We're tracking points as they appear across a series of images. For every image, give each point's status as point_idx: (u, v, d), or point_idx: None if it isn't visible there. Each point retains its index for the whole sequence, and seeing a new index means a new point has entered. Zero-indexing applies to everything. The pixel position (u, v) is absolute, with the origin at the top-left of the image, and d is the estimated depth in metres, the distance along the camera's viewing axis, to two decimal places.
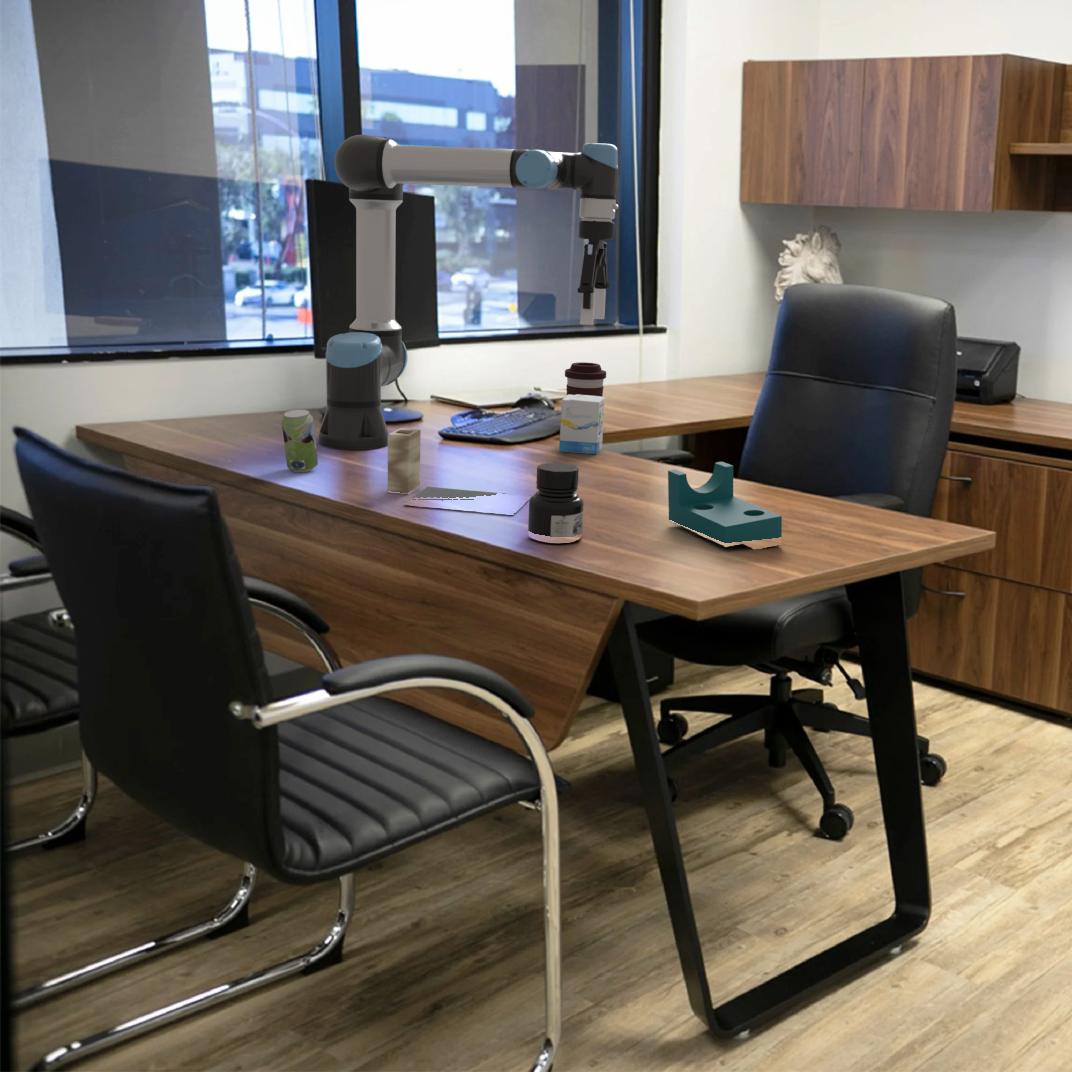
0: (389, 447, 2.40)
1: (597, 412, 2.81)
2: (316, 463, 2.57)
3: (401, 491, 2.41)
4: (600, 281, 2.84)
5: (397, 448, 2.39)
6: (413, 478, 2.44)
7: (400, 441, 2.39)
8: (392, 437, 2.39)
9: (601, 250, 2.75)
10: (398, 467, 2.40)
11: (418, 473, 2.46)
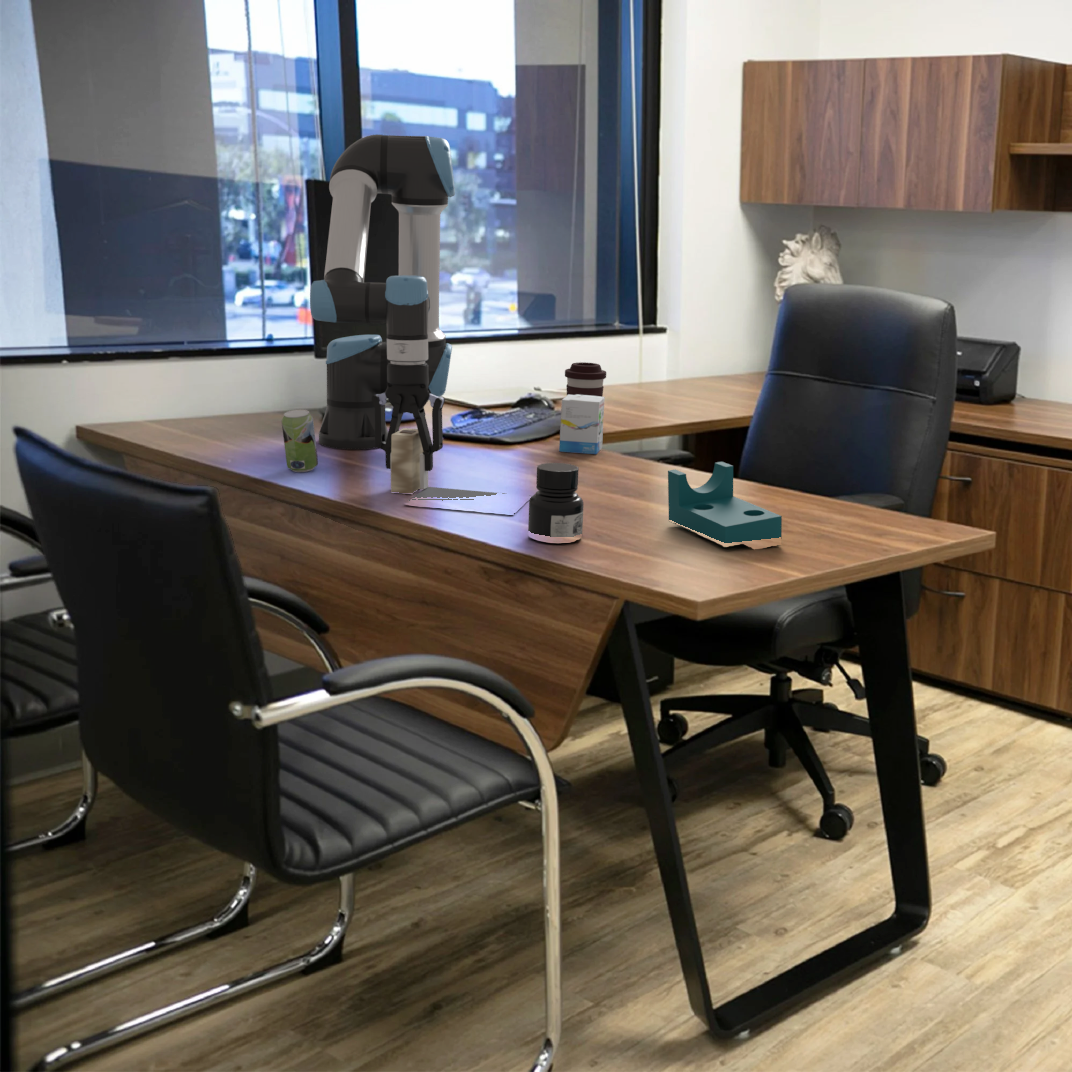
0: (392, 447, 2.39)
1: (597, 412, 2.81)
2: (316, 463, 2.57)
3: (405, 491, 2.41)
4: None
5: (401, 448, 2.39)
6: (417, 478, 2.43)
7: (404, 441, 2.39)
8: (395, 437, 2.39)
9: None
10: (402, 467, 2.40)
11: None
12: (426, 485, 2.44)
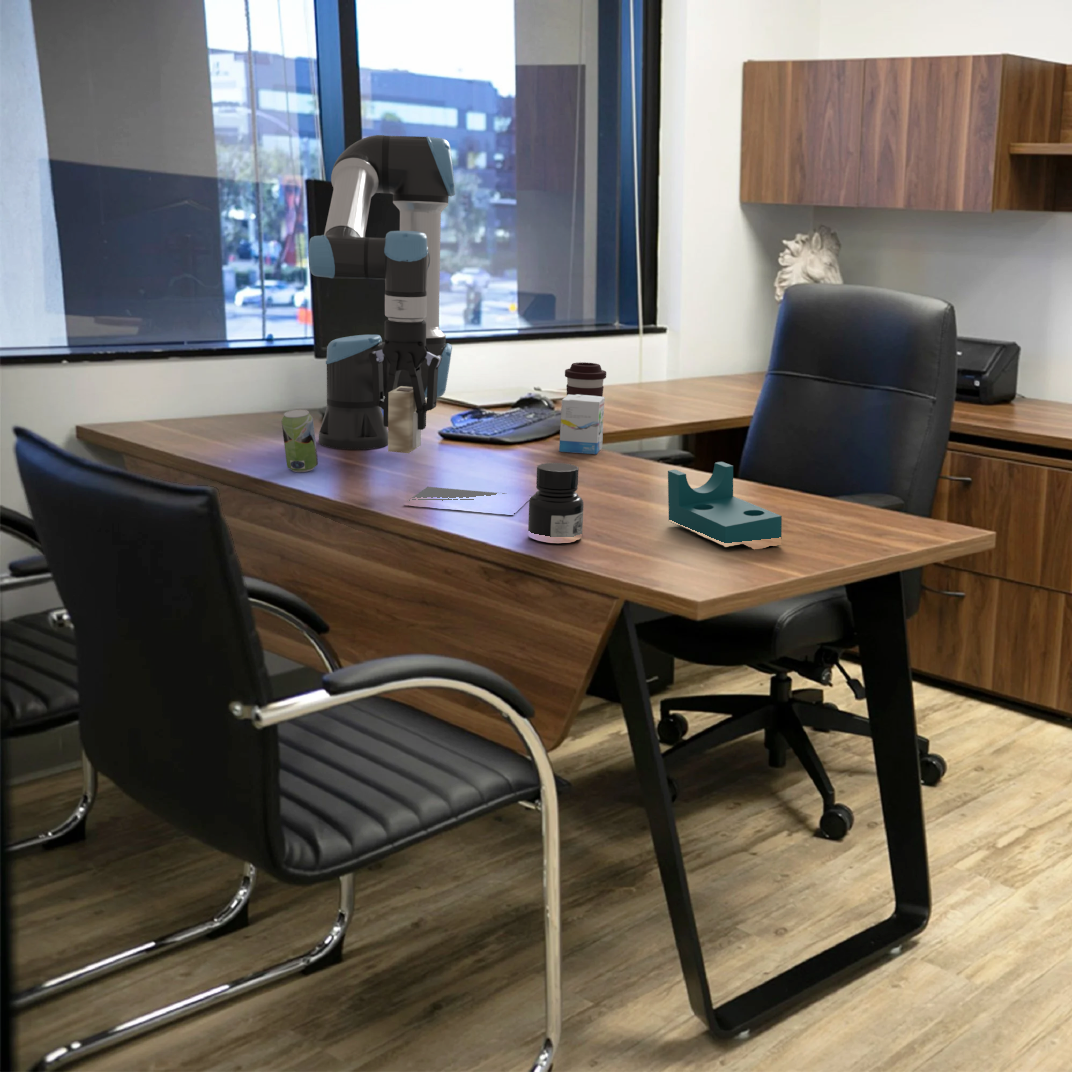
0: (389, 405, 2.38)
1: (597, 412, 2.81)
2: (316, 463, 2.57)
3: (402, 449, 2.40)
4: None
5: (398, 406, 2.38)
6: None
7: (401, 399, 2.37)
8: (392, 395, 2.37)
9: None
10: (399, 425, 2.39)
11: None
12: (419, 444, 2.43)
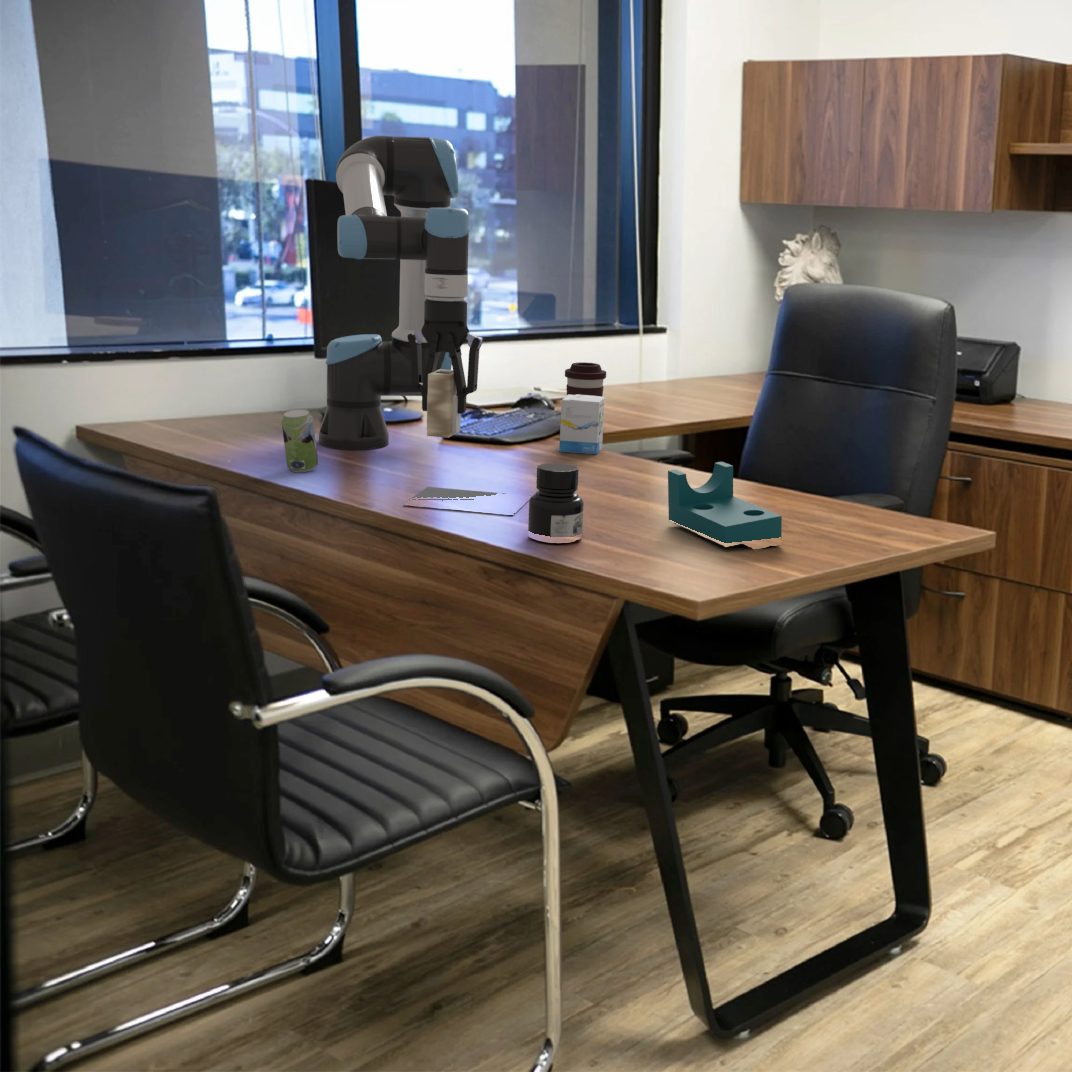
0: (429, 387, 2.30)
1: (597, 412, 2.81)
2: (316, 463, 2.57)
3: (441, 434, 2.31)
4: None
5: (437, 388, 2.30)
6: None
7: (441, 381, 2.29)
8: (432, 377, 2.29)
9: None
10: (438, 408, 2.30)
11: None
12: (458, 429, 2.34)
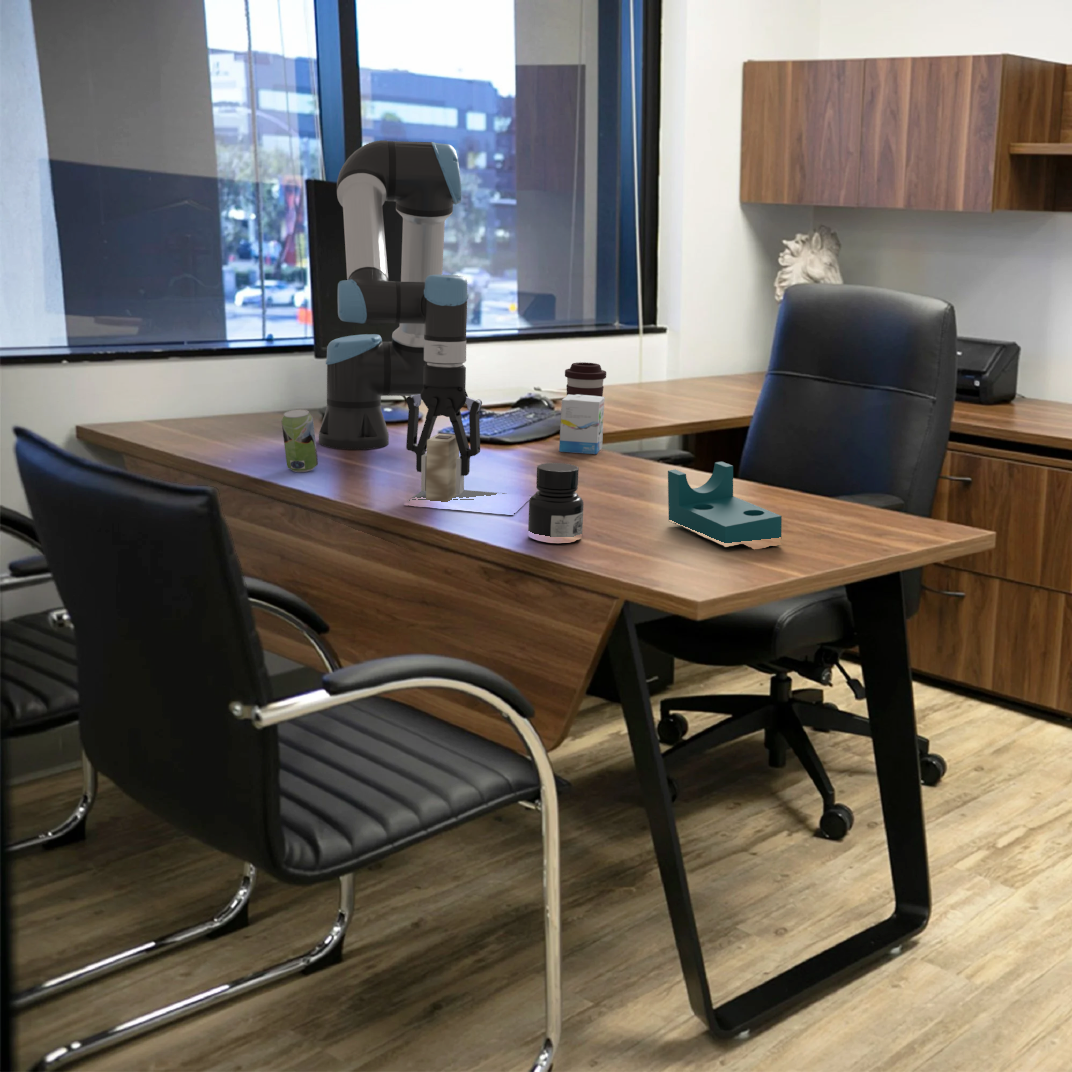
0: (427, 453, 2.33)
1: (597, 412, 2.81)
2: (316, 463, 2.57)
3: (440, 498, 2.35)
4: None
5: (436, 454, 2.33)
6: (452, 485, 2.37)
7: (440, 447, 2.32)
8: (431, 443, 2.32)
9: None
10: (437, 474, 2.34)
11: None
12: (462, 490, 2.37)
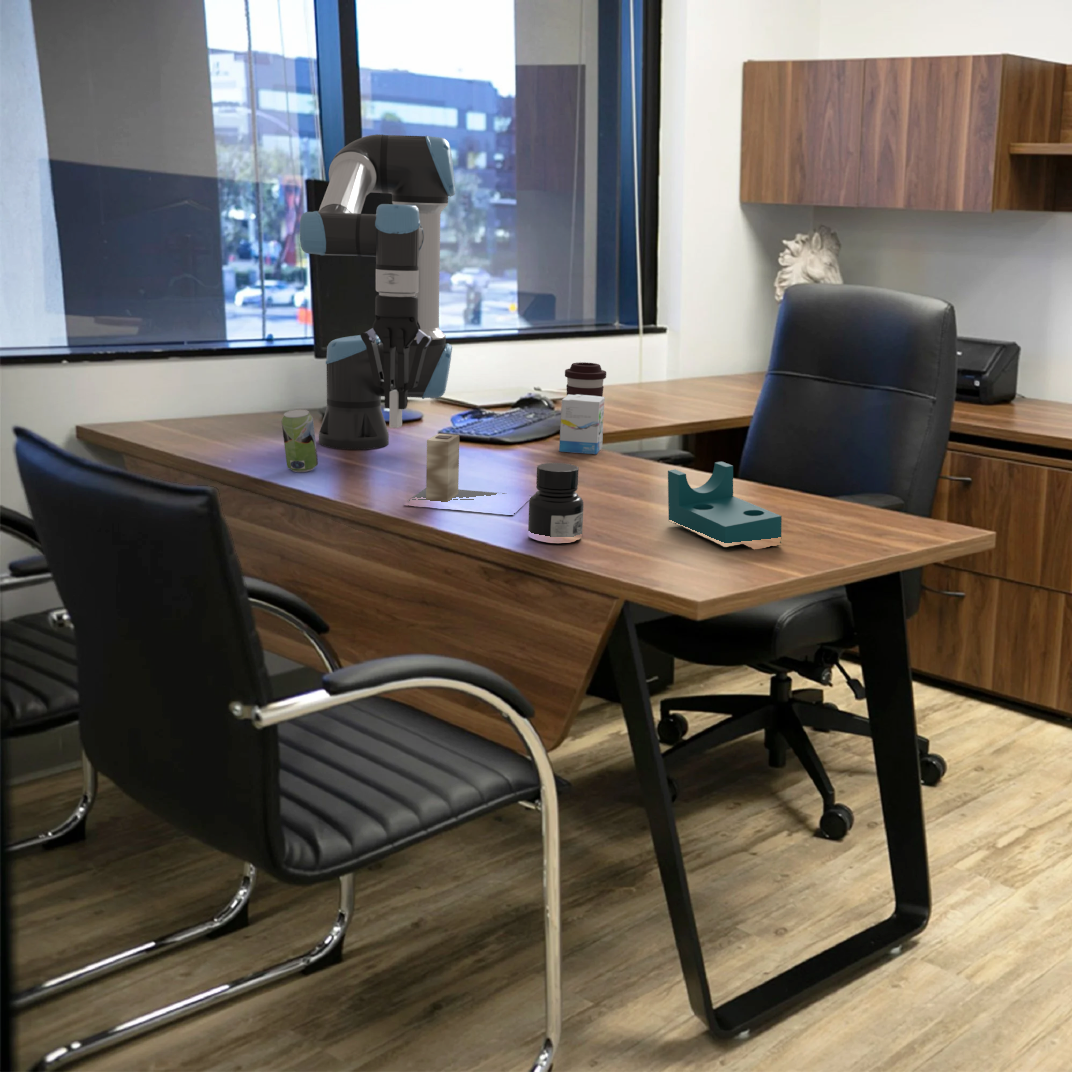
0: (427, 453, 2.33)
1: (597, 412, 2.81)
2: (316, 463, 2.57)
3: (440, 498, 2.35)
4: None
5: (436, 454, 2.33)
6: (452, 485, 2.37)
7: (440, 447, 2.32)
8: (431, 443, 2.32)
9: None
10: (437, 474, 2.34)
11: (457, 480, 2.39)
12: (400, 424, 2.36)
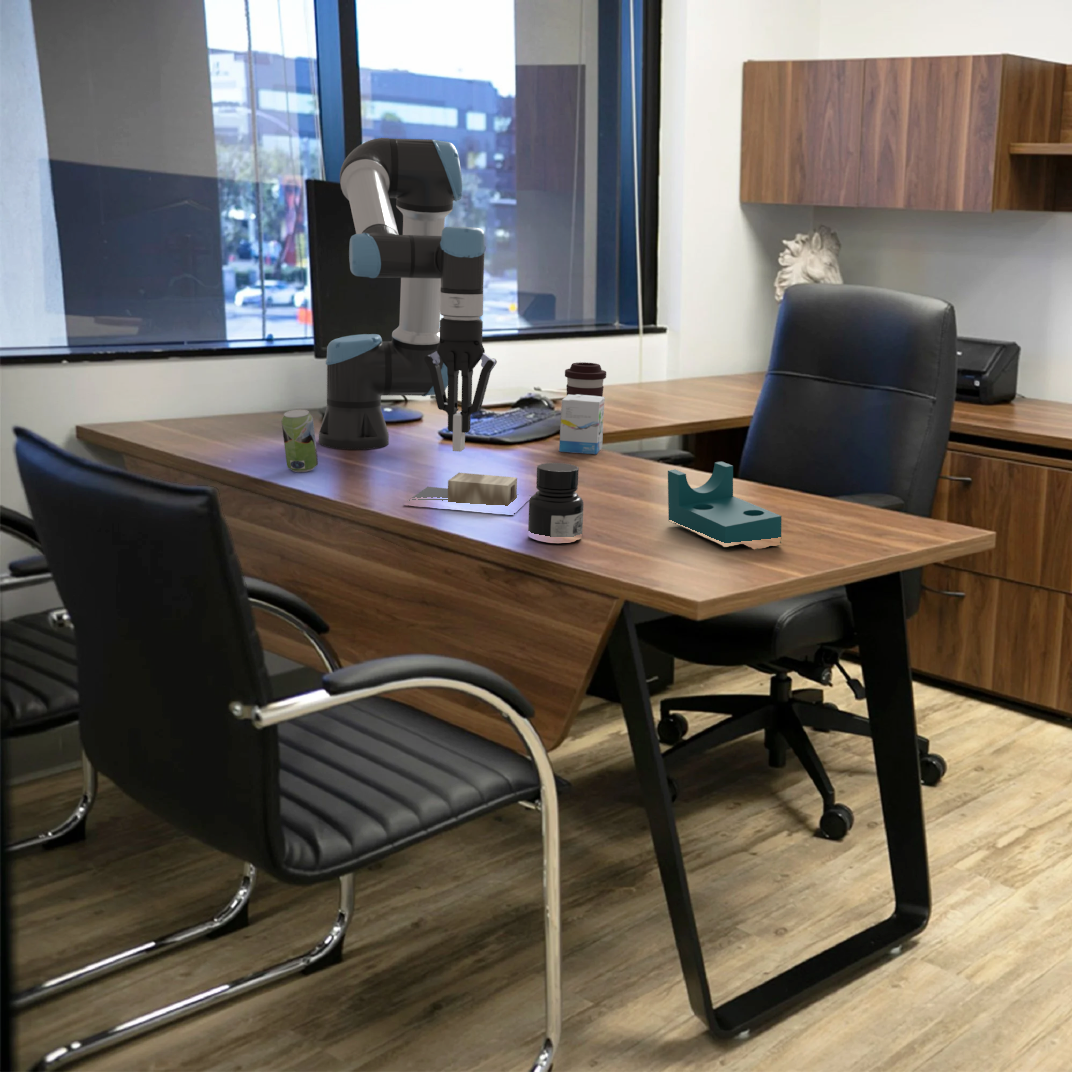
0: (494, 485, 2.32)
1: (597, 412, 2.81)
2: (316, 463, 2.57)
3: (450, 495, 2.34)
4: None
5: (494, 494, 2.32)
6: None
7: (501, 498, 2.32)
8: (505, 489, 2.31)
9: None
10: (474, 494, 2.33)
11: None
12: (462, 447, 2.35)
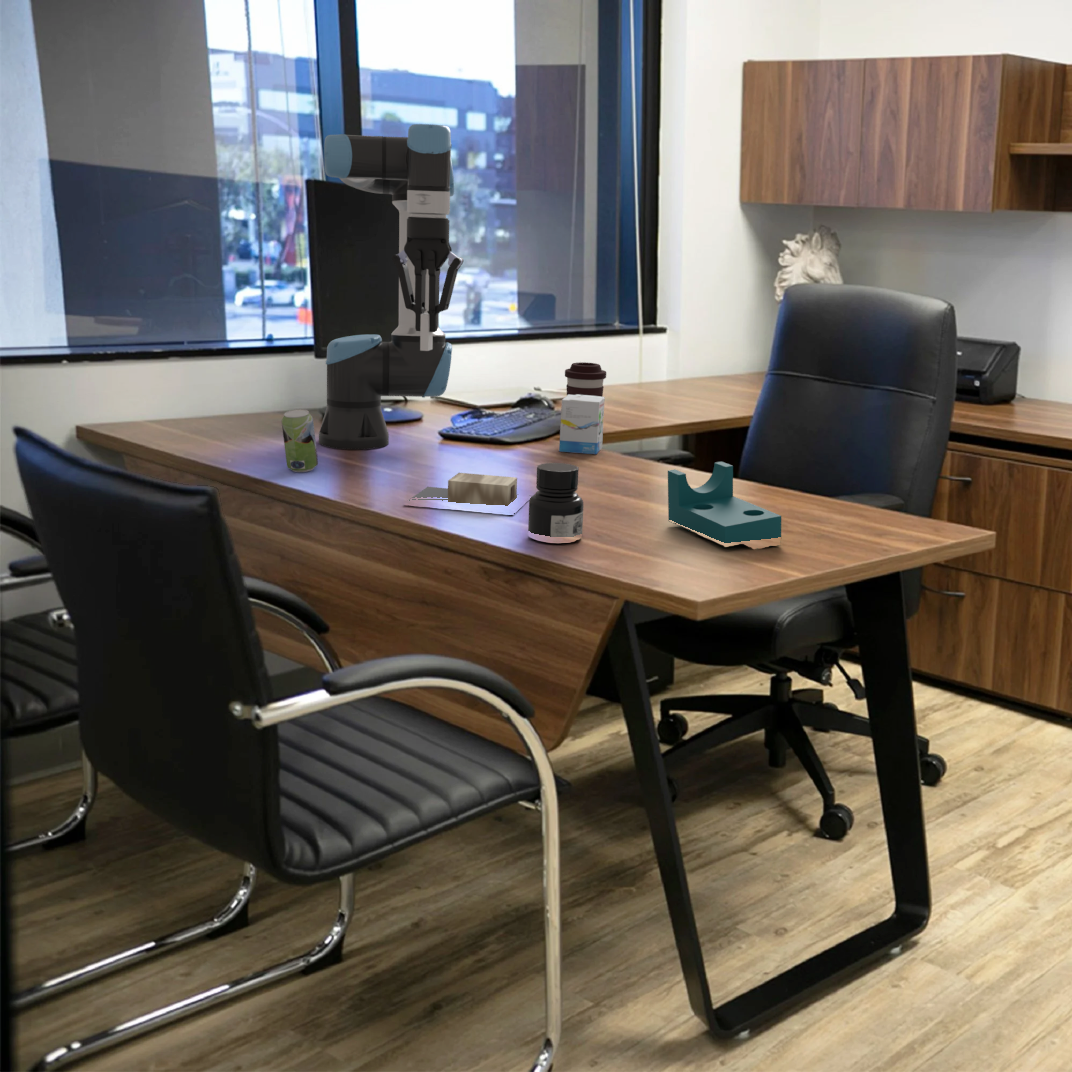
0: (494, 485, 2.32)
1: (597, 412, 2.81)
2: (316, 463, 2.57)
3: (450, 495, 2.34)
4: None
5: (494, 494, 2.32)
6: None
7: (501, 498, 2.32)
8: (505, 489, 2.31)
9: None
10: (474, 494, 2.33)
11: None
12: (430, 347, 2.37)
